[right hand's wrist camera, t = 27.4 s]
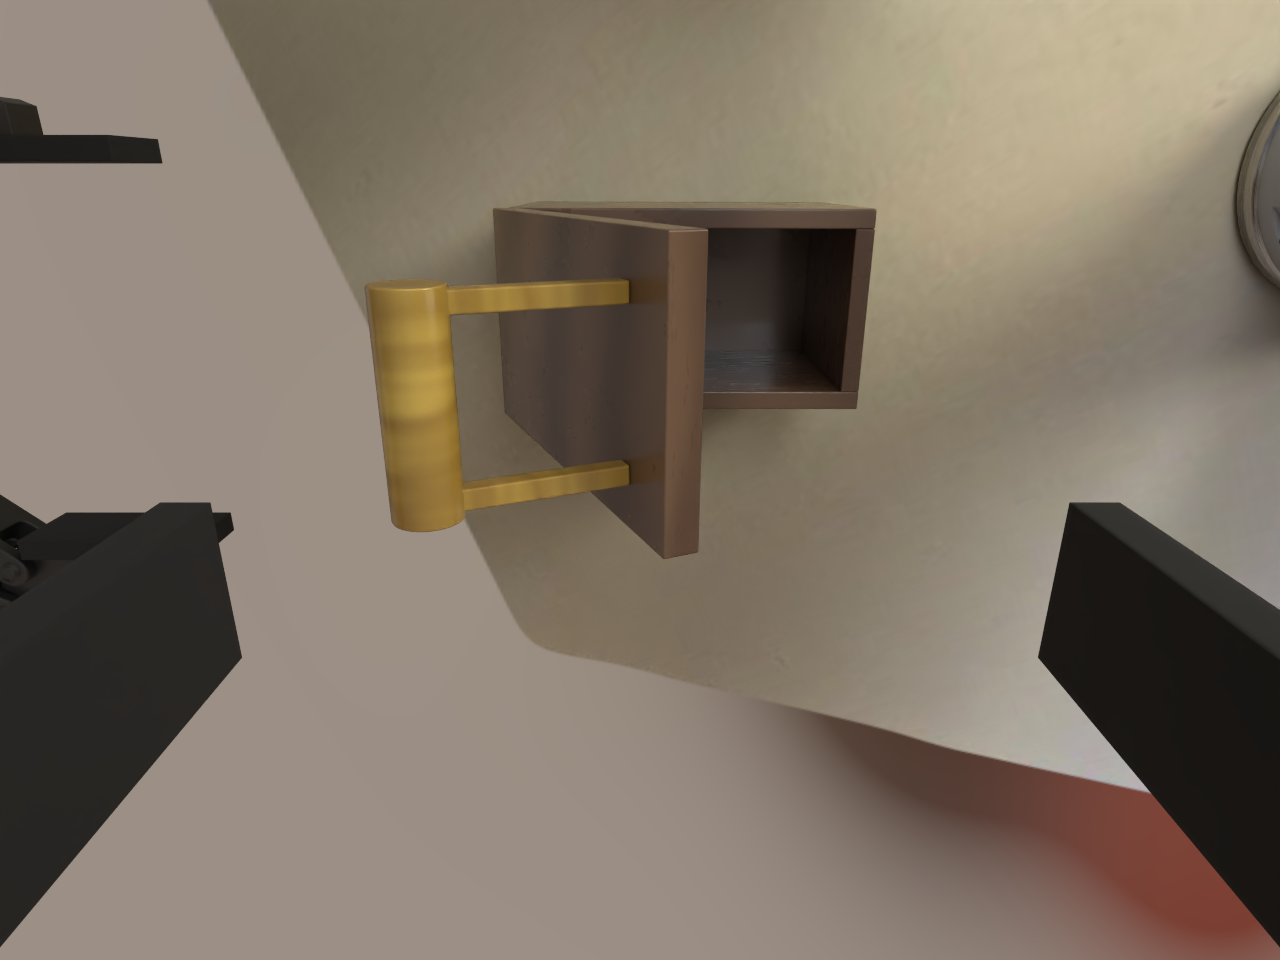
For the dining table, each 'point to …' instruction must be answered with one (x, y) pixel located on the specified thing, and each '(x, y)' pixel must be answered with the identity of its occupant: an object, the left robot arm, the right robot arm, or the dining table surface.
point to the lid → (557, 373)
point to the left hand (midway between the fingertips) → (180, 359)
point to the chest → (773, 296)
